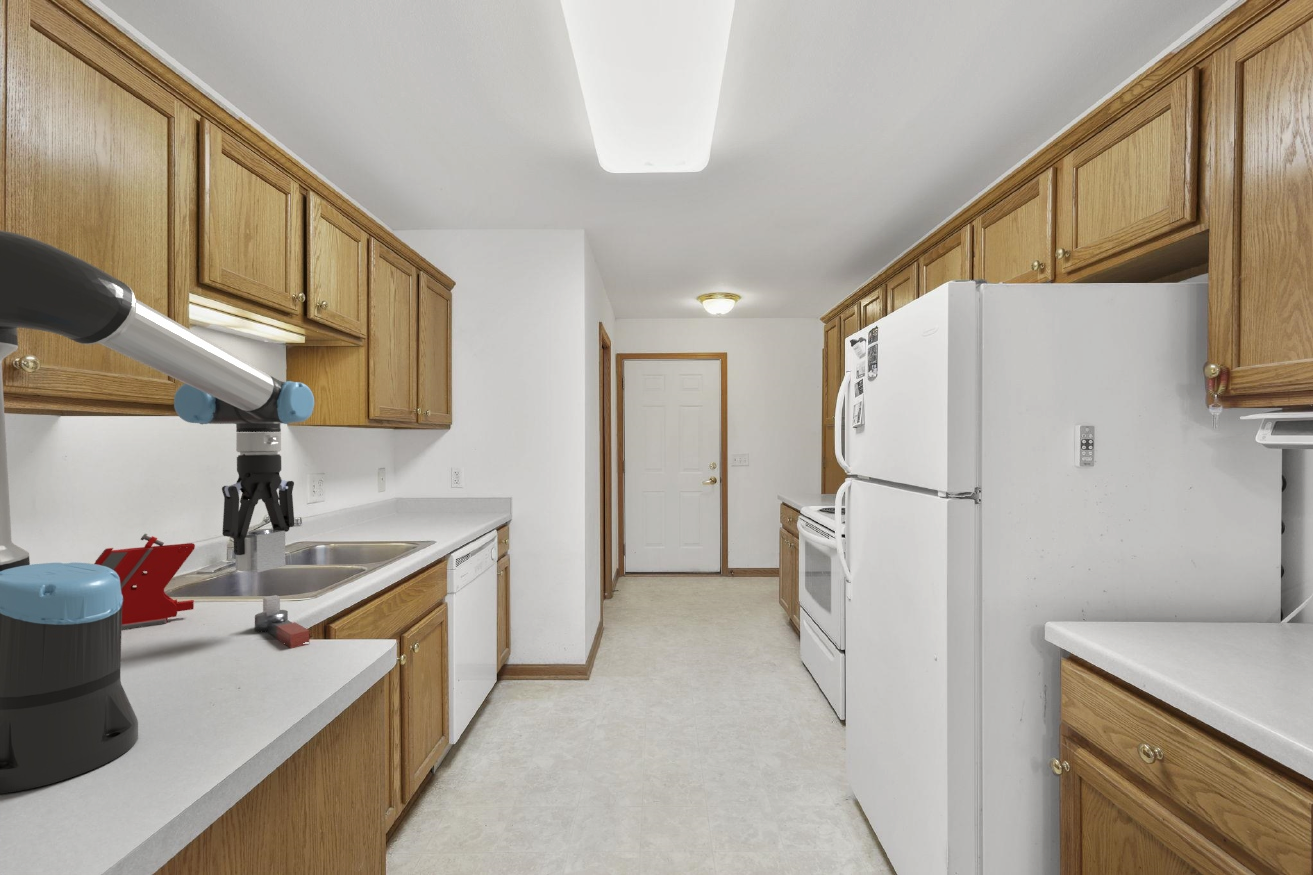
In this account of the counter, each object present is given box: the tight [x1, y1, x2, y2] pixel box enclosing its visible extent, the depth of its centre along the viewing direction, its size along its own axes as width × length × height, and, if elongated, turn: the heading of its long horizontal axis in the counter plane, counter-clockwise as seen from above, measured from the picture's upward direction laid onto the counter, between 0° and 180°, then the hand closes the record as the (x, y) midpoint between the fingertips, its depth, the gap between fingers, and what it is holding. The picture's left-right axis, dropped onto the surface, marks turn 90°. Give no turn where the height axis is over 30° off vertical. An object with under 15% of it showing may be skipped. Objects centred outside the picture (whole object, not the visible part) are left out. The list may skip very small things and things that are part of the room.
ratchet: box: [254, 594, 310, 649], centre depth 118 cm, size 6×20×6 cm, turn 49°
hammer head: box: [234, 528, 287, 573], centre depth 119 cm, size 6×6×8 cm
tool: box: [93, 533, 196, 631], centre depth 124 cm, size 24×5×25 cm, turn 131°
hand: (260, 566), depth 119 cm, fingers closed on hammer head, 6 cm apart
